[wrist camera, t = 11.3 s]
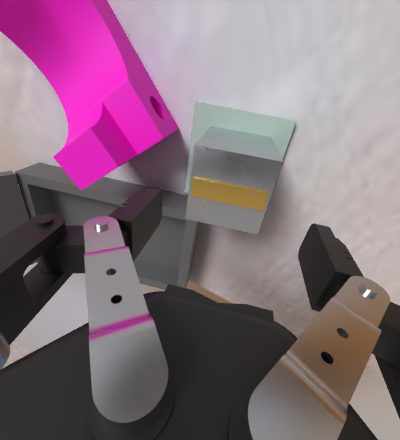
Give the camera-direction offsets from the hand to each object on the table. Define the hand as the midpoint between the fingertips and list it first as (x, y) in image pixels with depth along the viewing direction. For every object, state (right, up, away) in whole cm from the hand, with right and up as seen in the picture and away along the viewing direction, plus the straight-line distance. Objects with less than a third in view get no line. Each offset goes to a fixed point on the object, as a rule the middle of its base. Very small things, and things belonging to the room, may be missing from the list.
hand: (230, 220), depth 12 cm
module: (+1, +5, +7) cm, 9 cm away
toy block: (-10, +13, +6) cm, 17 cm away
